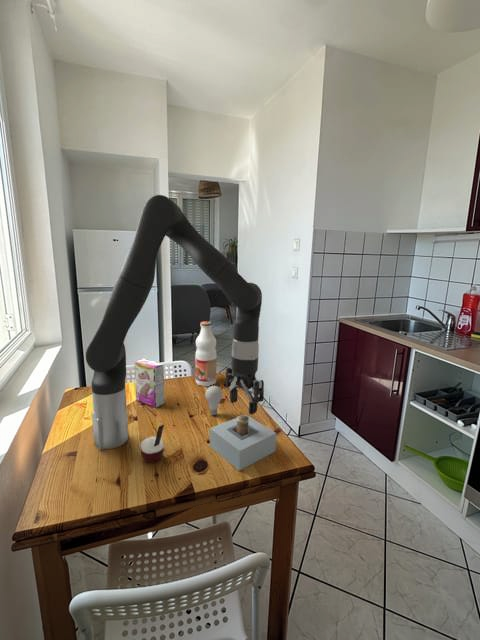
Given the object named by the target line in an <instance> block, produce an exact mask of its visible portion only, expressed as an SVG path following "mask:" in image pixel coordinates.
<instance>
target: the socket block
mask: <svg viewBox="0 0 480 640" xmlns="http://www.w3.org/2000/svg"><path fill="white" fill-rule="evenodd" d="M244 415H245V416H247V417H248V418H249V421H248V434H246V435H244V436H240V435H239V434H237V417H235V418H233V419H230V420H227V421H225V422H223V423H220V424H218V425H215V426H212V427H211V428H209V447H210V449H212V450H213V451H215V452H216V453H217V454H218V455H219V456H221V457H222V459H224V460H226V462H228V463H229V464H230V465H232V466H233V467H234V468H235V469H236V470H238V471H242V470H244V469H245V468H247V467H248V466H251V465H254V464H255V463H256V462H259V461H260V460H262V459H264V458H266V457H267V456H270V455H272V453H275V452H276V445H277V432H275V431H273V430H272V429H270V428H268V427H267V426H265V425H264V424H262V423H260V422H259V421H257V420H256V419H254V418H252V417H251V416H248V414H246V413H245V414H244Z"/></svg>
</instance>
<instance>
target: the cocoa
mask: <svg viewBox="0 0 480 640" xmlns="http://www.w3.org/2000/svg"><path fill="white" fill-rule="evenodd" d="M164 428H165V424H162V425H159V426H158V429H157V432H156V436H153V435H152V436H149V437H147V438H145V439H143V440H142V441H141V442H140V445H139V446H140V453H141V456H142V458H143V460H144V461H145V462H147V463H155V462H157V461H159V460H161V458H162V457H163V456H164V451H165V450H164V448H165V446H164V442H163V439H162V434H163V430H164Z"/></svg>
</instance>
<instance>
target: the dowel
mask: <svg viewBox="0 0 480 640" xmlns="http://www.w3.org/2000/svg"><path fill="white" fill-rule="evenodd" d="M247 416H248V415H247ZM247 416H245V414H240V415H237V416H236V418H237V434H239V435H240V436H244V435H246V434H248V421H249V418H248V417H247Z"/></svg>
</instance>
